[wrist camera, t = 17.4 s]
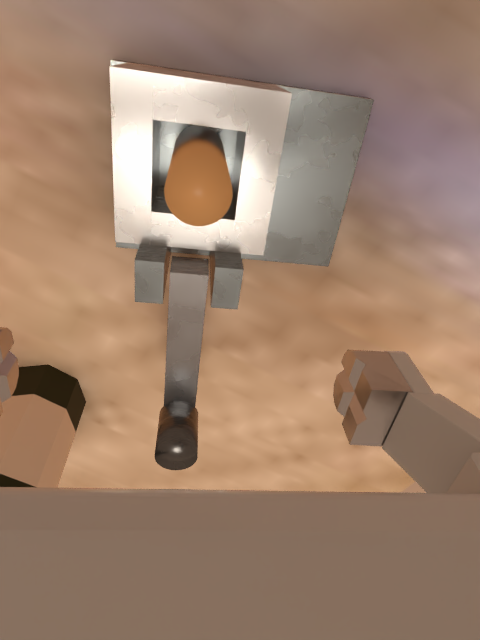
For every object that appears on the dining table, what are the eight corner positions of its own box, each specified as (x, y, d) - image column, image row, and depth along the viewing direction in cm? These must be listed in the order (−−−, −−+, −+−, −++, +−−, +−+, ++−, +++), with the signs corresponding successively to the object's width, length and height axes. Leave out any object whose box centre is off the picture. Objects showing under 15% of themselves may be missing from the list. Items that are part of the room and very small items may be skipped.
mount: (368, 98, 30) (427, 116, 22) (325, 260, 37) (357, 318, 29) (113, 59, 28) (78, 65, 20) (118, 241, 35) (93, 298, 27)
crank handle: (212, 259, 28) (214, 309, 23) (196, 407, 36) (195, 470, 30) (167, 255, 28) (159, 305, 22) (161, 405, 35) (154, 469, 30)
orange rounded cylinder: (221, 179, 31) (228, 229, 23) (173, 174, 31) (163, 223, 23) (226, 128, 29) (236, 162, 21) (175, 121, 29) (165, 154, 21)
